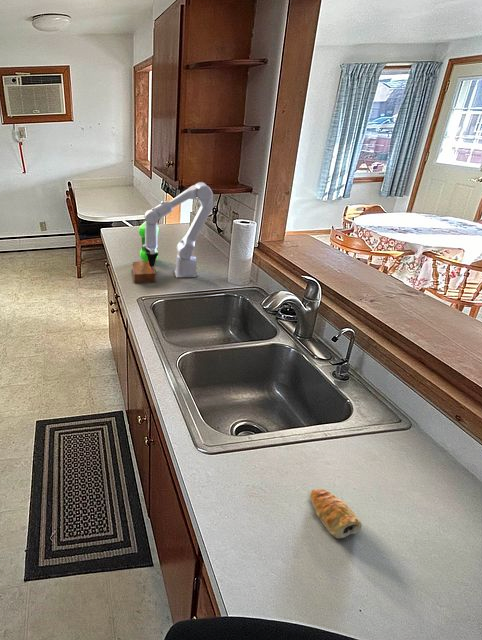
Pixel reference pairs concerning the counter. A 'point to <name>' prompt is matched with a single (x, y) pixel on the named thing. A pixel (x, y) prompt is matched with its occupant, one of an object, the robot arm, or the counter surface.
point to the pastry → (334, 514)
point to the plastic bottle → (143, 250)
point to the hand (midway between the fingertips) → (151, 263)
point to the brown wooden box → (143, 278)
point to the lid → (143, 268)
